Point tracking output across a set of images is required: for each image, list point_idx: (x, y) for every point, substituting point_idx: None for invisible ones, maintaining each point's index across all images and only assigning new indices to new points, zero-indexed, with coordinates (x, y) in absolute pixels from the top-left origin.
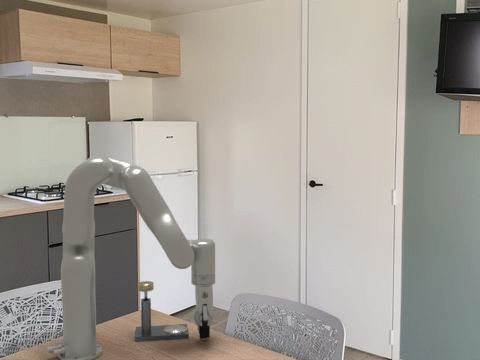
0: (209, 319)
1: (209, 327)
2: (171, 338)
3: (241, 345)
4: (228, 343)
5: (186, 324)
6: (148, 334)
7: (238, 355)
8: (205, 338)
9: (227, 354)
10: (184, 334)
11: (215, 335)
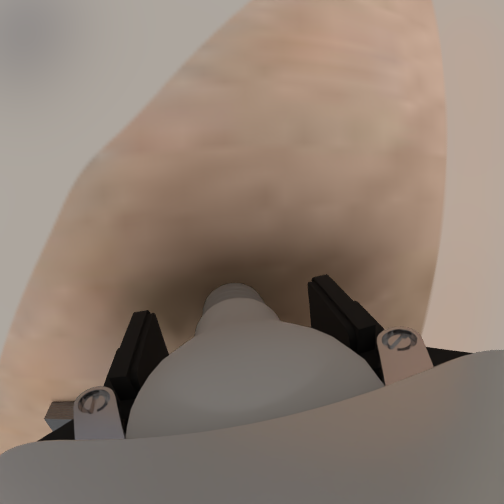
0: (371, 369)
1: (365, 314)
2: None
3: (308, 26)
4: (274, 111)
5: (50, 421)
6: None
7: (443, 75)
8: (261, 299)
9: (436, 134)
10: None
11: (114, 226)
